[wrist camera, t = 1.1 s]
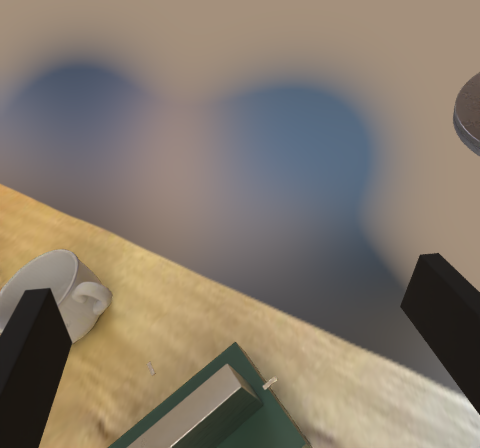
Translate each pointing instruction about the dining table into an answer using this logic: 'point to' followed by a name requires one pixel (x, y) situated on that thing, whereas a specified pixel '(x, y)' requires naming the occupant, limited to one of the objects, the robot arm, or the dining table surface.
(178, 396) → the green block
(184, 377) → the dining table surface
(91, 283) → the teacup
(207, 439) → the red-tipped metal bar
